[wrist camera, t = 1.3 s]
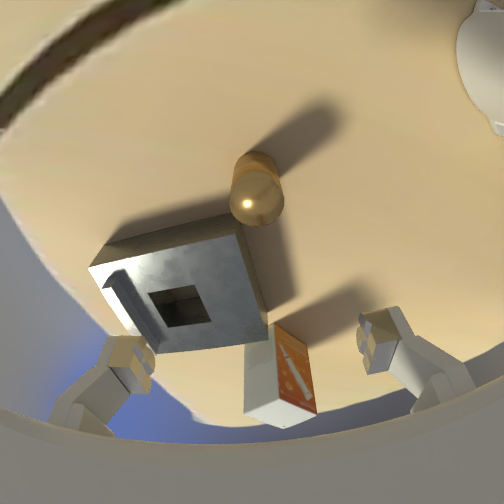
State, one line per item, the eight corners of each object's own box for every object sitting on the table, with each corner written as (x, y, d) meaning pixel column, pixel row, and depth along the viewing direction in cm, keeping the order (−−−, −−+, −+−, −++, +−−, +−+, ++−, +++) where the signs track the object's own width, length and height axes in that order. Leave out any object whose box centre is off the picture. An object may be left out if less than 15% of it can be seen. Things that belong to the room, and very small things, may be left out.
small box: (307, 344, 45) (318, 415, 35) (277, 361, 48) (282, 430, 37) (273, 320, 42) (279, 399, 31) (243, 340, 45) (241, 415, 34)
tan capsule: (271, 147, 29) (278, 171, 22) (280, 186, 31) (288, 220, 25) (229, 157, 29) (222, 183, 23) (240, 195, 32) (237, 231, 25)
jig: (237, 211, 33) (234, 245, 27) (267, 313, 41) (269, 352, 35) (103, 245, 35) (81, 278, 29) (153, 330, 44) (143, 365, 38)
